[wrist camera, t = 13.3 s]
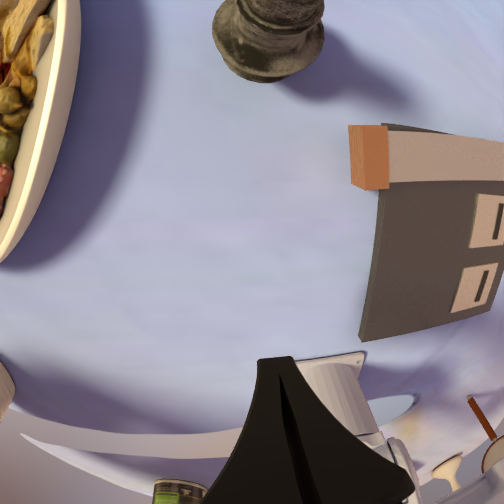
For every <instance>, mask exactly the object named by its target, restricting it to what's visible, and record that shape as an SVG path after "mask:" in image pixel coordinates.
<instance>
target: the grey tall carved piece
mask: <svg viewBox="0 0 504 504" xmlns="http://www.w3.org/2000/svg"><path fill="white" fill-rule="evenodd" d="M323 12H324V0H226V1H224V2H223V3H222V5H221V6H220V7H219V9H218V10H217V11H216V14H215V17H214V20H213V23H212V35H213V38H214V41H215V44H216V47H217V49H218V50H219V51H220V53H221V54H222V56H223V59H224V61H225V63H226V64H227V65H228V67H229V68H230V69H231V70H232V71H233V72H234V73H236V74H237V75H238V76H240V77H243V78H245V79H247V80H250V81H254V82H268V83H269V82H274V81H278V80H281V79H283V78H285V77H287V76H289V75H291V74H294V73H296V72H298V71H300V70H303V69H305V68H306V67H307V66H308V65H310V64H311V63H312V62H313V61H314V60H315V59H316V58H317V56H318V54H319V53H320V51H321V50H322V46H323V42H324V27H323V24H322V21H321V17H322V16H323Z"/></svg>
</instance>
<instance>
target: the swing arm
mask: <svg viewBox="0 0 504 504" xmlns="http://www.w3.org/2000/svg"><path fill="white" fill-rule="evenodd" d="M348 131H349V145H350V163H351V184H353V185H355V186H357V187H359V188H361V189H363V190H377V189H389V183H390V182H412V181H445V180H497V181H504V142H498V141H493V140H486V139H480V138H473V137H466V136H457V135H448V134H438V133H426V132H411V131H388V128H387V126H378V125H348Z"/></svg>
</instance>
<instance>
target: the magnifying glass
mask: <svg viewBox="0 0 504 504" xmlns="http://www.w3.org/2000/svg"><path fill="white" fill-rule="evenodd" d="M467 400H468V403H469V405H470V407H471V408H472V410H473V411H474V413H475V414H476V416H477V418H478V419H479V421H480V423H481V424H482V426H483V428H484V429H485V431H486V433H487V434H488V436H489V438H490V439H491V441H493V443H492V444H491V446H490V447H489V448H488V449H487V451H486V453H485V455H484V457H483V460H482V474H483V473H484V472H485V471H486V470H487V469H489V468H490V467H491V466H492V465H494V464H495V463H496V462H497V461H499V460H500V459H501V458H503V457H504V435H503V436H501V437H500V438H498V439H497V438H496V437H497V435H496V434H495V432H494V430H493V429H492V427H491V425H490V424H489V422H488V421H487V419H486V417H485V416H484V414H483V413H482V411H481V409H480V408H479V406H478V405H477V403H476V402H475V400H474V399H473V397H472V398H471V396H467Z"/></svg>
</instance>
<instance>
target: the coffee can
mask: <svg viewBox="0 0 504 504" xmlns="http://www.w3.org/2000/svg"><path fill="white" fill-rule="evenodd" d="M206 492H207V489H206V488H205V487H203V486H201V485H199V484H196V483H192V482H187V481H182V480H173V479H161V480H157V481H155V482H154V493H153V502H152V504H199V503H200V501H201V499H202V498H203V497H204V496H205V494H206Z"/></svg>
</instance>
